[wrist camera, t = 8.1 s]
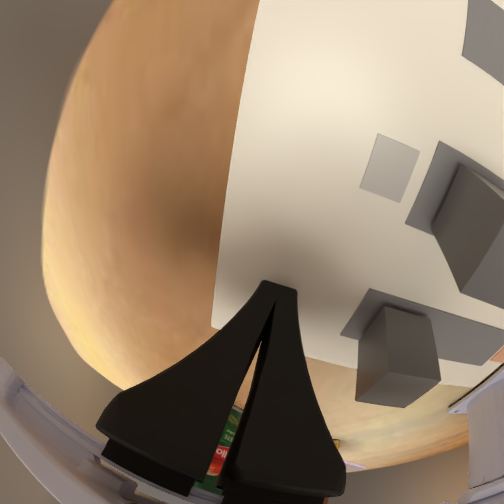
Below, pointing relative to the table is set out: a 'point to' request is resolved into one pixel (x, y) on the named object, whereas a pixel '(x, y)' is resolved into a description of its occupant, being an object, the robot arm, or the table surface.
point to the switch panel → (364, 169)
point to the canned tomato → (221, 452)
